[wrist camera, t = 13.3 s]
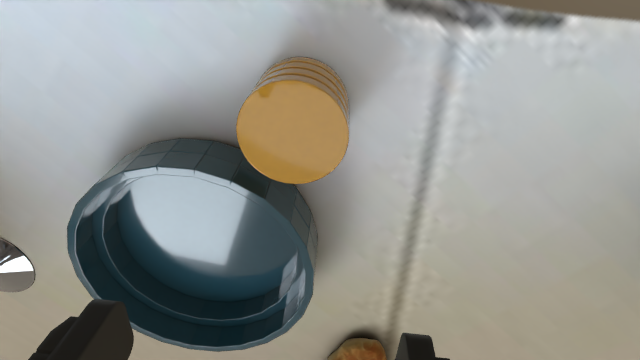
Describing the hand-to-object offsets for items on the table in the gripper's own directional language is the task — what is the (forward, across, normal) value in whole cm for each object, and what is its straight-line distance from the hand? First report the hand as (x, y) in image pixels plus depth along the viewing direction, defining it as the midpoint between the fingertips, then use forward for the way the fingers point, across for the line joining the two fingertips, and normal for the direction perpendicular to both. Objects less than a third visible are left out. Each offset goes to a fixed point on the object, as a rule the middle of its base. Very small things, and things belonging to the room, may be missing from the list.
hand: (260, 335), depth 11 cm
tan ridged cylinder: (+17, +1, -1) cm, 17 cm away
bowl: (+16, +8, +10) cm, 21 cm away
